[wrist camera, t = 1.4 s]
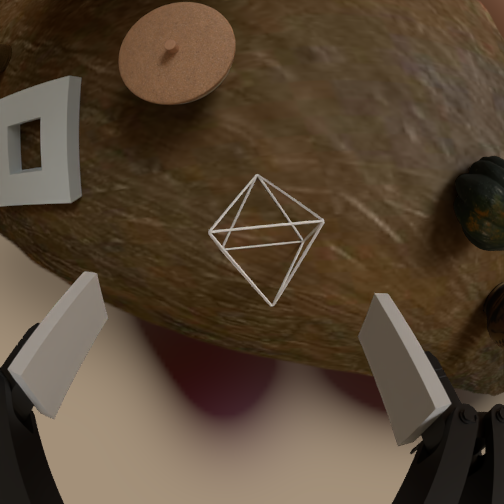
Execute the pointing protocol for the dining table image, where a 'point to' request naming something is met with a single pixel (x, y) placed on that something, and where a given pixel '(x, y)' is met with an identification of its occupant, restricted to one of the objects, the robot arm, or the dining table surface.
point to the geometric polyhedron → (266, 227)
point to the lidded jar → (177, 53)
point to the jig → (42, 144)
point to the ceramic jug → (496, 315)
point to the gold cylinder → (4, 56)
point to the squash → (482, 203)
